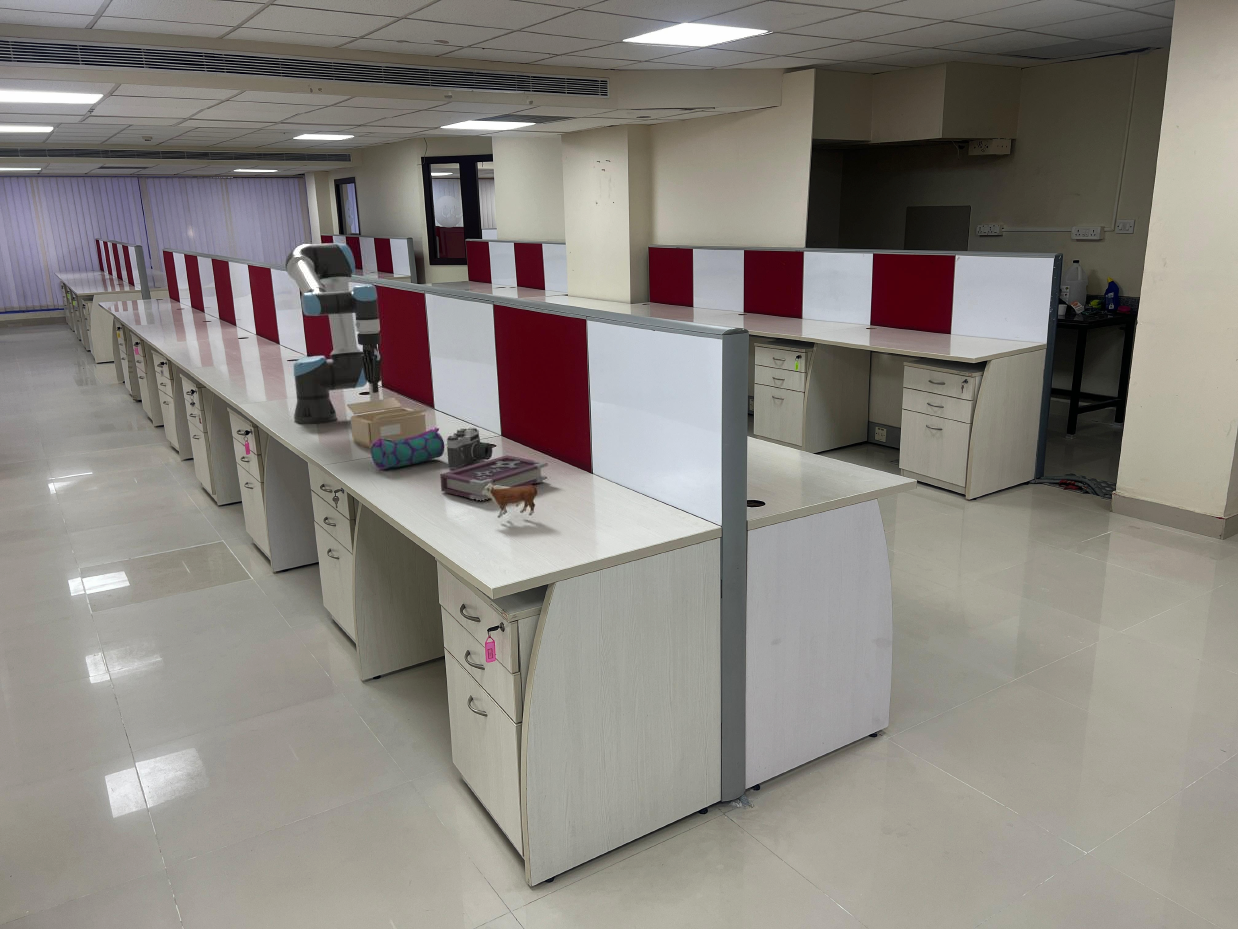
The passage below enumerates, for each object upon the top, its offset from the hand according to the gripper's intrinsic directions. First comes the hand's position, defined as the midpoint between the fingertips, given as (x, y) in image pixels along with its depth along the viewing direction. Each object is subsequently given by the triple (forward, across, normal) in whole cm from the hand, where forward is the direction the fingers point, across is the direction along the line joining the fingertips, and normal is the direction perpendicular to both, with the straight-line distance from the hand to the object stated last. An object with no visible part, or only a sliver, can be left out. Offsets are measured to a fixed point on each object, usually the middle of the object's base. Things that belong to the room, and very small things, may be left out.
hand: (375, 401), depth 302 cm
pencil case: (+13, +41, -9) cm, 44 cm away
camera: (+13, +53, +6) cm, 55 cm away
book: (+14, +78, -2) cm, 80 cm away
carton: (+12, +9, 0) cm, 15 cm away
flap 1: (+3, +2, 0) cm, 3 cm away
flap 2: (+3, +16, 0) cm, 16 cm away
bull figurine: (+14, +105, -14) cm, 107 cm away
